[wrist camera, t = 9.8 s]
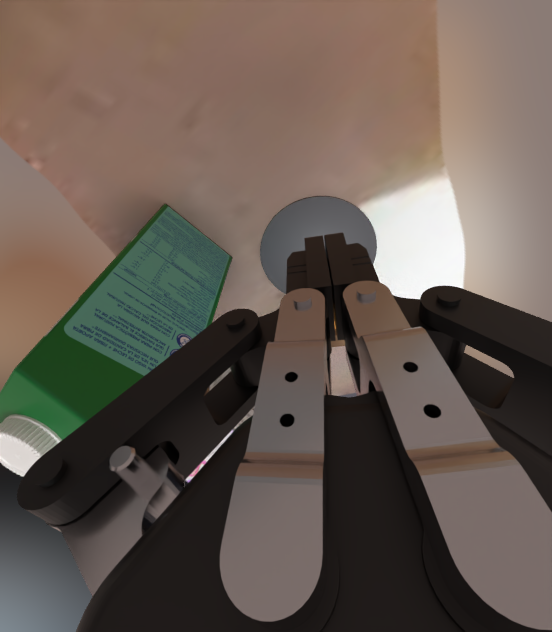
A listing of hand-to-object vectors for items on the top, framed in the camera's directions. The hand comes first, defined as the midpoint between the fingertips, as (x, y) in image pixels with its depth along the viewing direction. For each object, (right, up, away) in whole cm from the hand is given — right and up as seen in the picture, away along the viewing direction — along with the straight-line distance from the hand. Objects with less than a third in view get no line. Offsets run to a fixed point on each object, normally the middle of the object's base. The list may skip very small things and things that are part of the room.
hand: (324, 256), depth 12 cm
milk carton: (-13, +5, +24) cm, 28 cm away
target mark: (+3, +5, +23) cm, 24 cm away
